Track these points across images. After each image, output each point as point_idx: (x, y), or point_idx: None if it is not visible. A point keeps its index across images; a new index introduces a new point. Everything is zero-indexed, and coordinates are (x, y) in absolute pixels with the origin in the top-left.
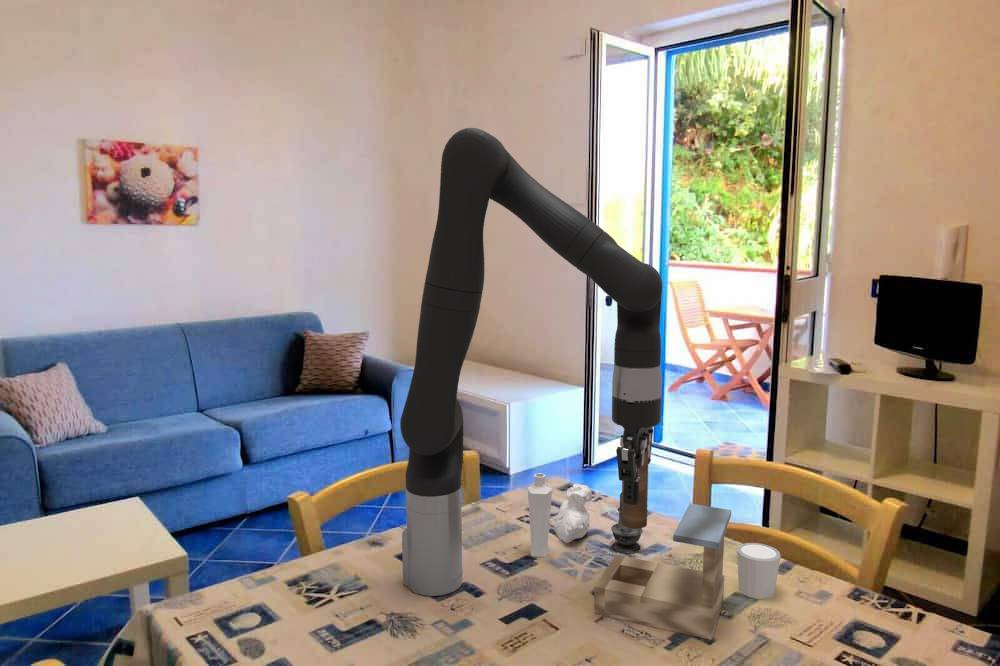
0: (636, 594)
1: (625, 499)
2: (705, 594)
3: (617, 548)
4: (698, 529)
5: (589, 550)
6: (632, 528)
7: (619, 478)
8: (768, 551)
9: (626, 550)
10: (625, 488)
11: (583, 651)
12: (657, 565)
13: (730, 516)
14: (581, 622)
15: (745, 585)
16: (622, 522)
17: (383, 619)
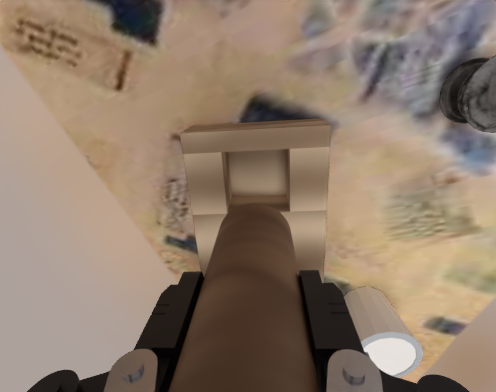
0: (193, 207)
1: (165, 291)
2: None
3: (453, 78)
4: None
5: (435, 16)
6: (494, 113)
7: (34, 388)
8: (392, 367)
9: (447, 100)
10: (143, 331)
11: (93, 148)
12: (315, 211)
13: None
14: (157, 117)
15: (347, 306)
16: (229, 214)
17: None
